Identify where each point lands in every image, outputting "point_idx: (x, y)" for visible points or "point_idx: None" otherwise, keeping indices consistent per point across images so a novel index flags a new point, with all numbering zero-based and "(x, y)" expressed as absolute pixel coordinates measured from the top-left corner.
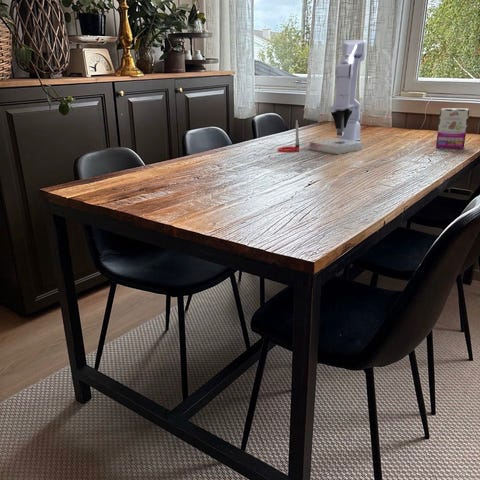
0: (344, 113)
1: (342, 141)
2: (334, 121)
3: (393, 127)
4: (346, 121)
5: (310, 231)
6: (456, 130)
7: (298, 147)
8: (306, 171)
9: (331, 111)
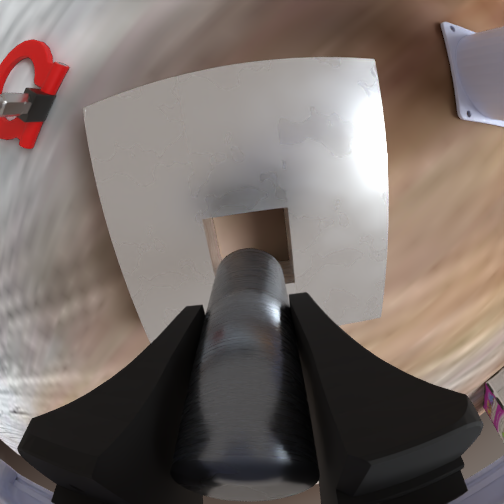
0: (288, 495)
1: (306, 227)
2: (141, 356)
3: None
4: (309, 404)
5: (17, 446)
6: (501, 429)
7: (33, 120)
8: (11, 375)
9: (12, 479)
